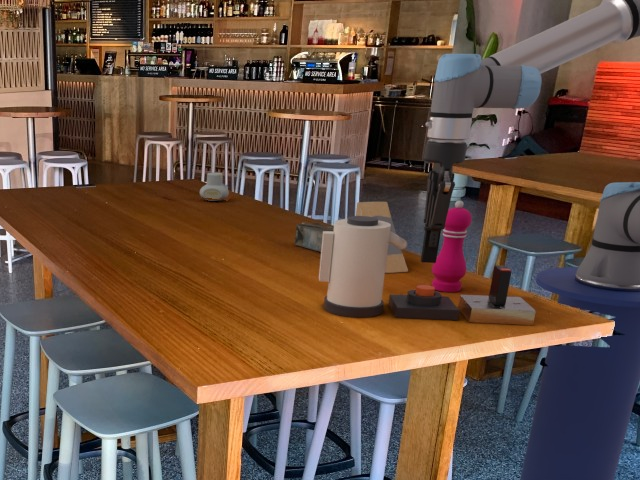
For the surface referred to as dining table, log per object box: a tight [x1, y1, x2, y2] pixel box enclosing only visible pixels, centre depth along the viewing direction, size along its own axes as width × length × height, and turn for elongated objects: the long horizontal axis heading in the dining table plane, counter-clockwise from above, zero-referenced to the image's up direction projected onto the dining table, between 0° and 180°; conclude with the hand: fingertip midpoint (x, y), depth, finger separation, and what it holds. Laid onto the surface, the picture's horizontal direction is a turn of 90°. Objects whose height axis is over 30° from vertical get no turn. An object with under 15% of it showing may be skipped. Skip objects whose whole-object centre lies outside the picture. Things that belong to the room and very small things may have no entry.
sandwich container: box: [355, 201, 409, 274], centre depth 200 cm, size 9×15×15 cm, turn 11°
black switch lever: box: [488, 264, 512, 306], centre depth 159 cm, size 5×2×7 cm, turn 171°
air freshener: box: [199, 172, 230, 202], centre depth 297 cm, size 11×8×10 cm
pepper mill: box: [431, 200, 473, 293], centre depth 178 cm, size 7×7×20 cm
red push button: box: [415, 284, 436, 296], centre depth 163 cm, size 4×4×2 cm
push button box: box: [388, 289, 460, 321], centre depth 164 cm, size 12×10×4 cm
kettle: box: [318, 215, 408, 319], centre depth 163 cm, size 17×12×19 cm
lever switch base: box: [457, 294, 537, 326], centre depth 161 cm, size 12×10×3 cm
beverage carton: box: [294, 221, 334, 253], centre depth 217 cm, size 8×19×7 cm, turn 28°
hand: (428, 261), depth 160 cm, fingers closed
